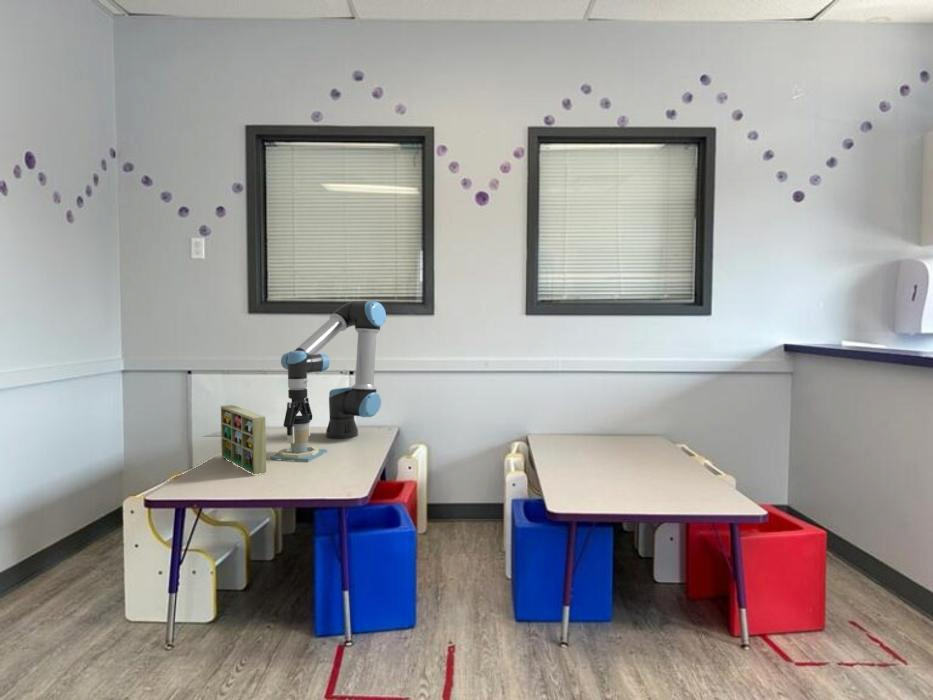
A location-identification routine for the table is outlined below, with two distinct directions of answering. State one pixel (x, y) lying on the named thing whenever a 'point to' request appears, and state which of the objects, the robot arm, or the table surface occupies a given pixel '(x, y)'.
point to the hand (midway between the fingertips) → (299, 439)
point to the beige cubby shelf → (243, 438)
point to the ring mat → (310, 455)
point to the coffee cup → (300, 434)
